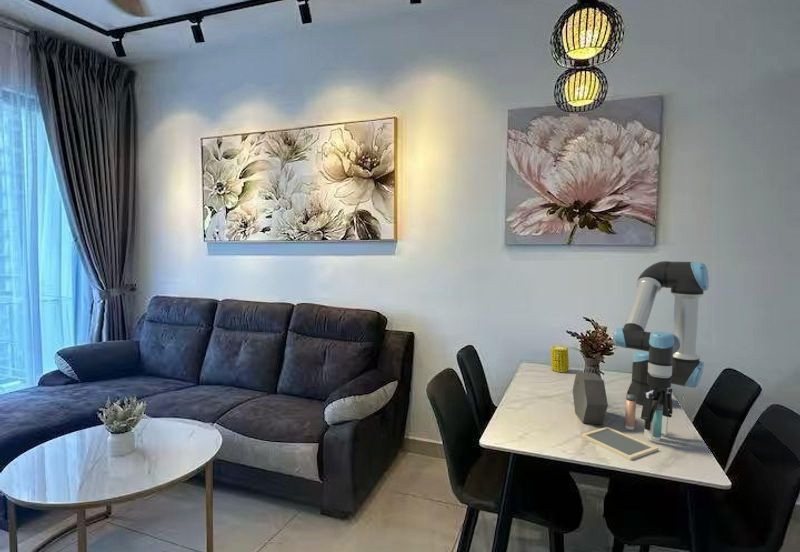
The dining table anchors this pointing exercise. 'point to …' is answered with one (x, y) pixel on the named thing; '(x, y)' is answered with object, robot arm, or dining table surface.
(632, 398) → the coral marker
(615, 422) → the dining table surface
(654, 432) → the teal marker
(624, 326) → the robot arm
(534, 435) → the dining table surface
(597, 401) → the planter
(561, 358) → the food
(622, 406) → the dining table surface
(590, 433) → the slate board
